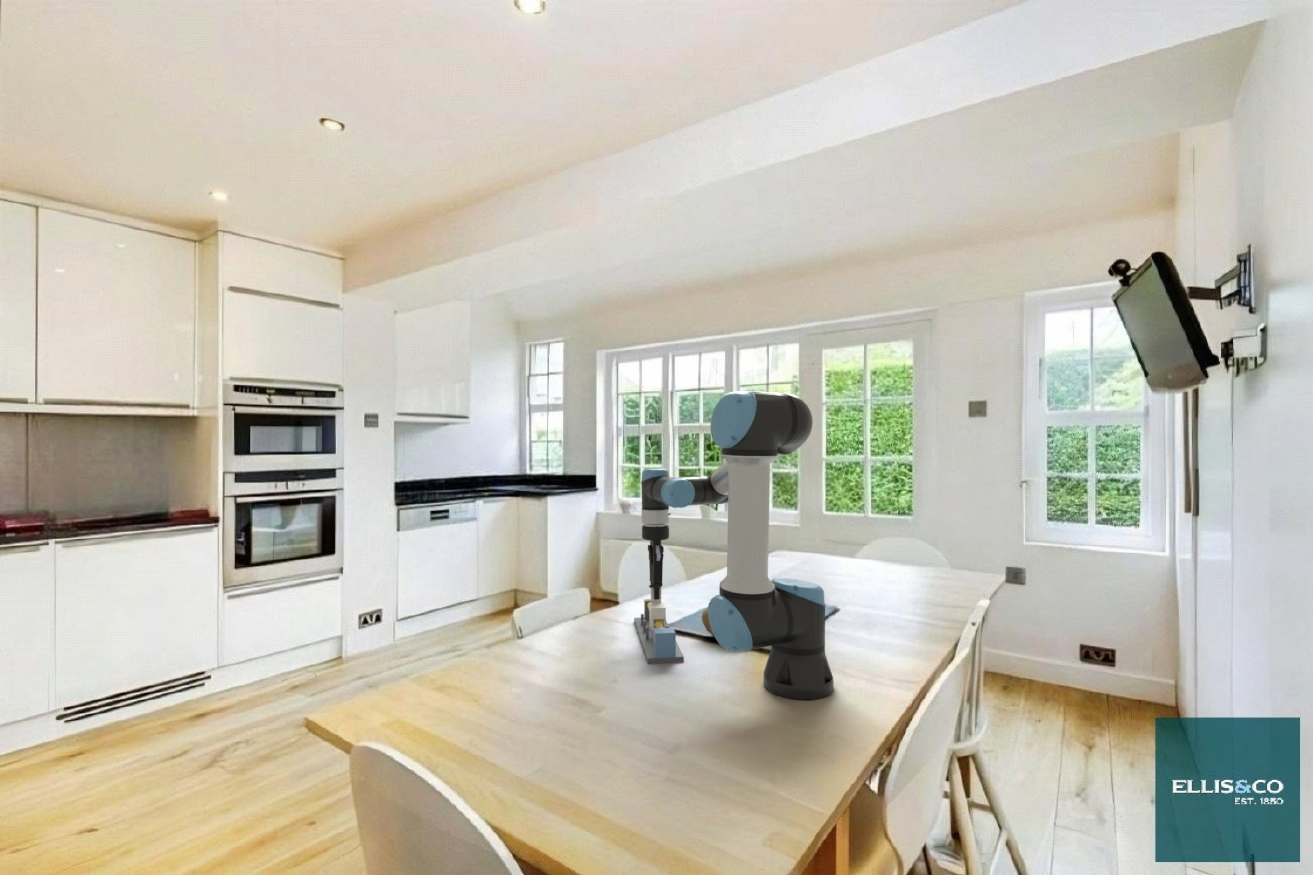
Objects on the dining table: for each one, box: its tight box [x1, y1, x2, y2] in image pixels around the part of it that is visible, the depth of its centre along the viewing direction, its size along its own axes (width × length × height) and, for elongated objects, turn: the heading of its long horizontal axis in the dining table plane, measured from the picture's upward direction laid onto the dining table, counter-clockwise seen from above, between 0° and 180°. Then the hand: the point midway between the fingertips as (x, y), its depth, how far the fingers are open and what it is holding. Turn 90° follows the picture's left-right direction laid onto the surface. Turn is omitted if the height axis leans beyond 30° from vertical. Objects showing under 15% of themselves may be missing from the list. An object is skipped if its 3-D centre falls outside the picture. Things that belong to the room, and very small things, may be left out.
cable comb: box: [633, 598, 685, 664], centre depth 164 cm, size 34×9×7 cm, turn 8°
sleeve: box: [649, 602, 667, 632], centre depth 162 cm, size 5×4×6 cm
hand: (656, 610), depth 166 cm, fingers closed
